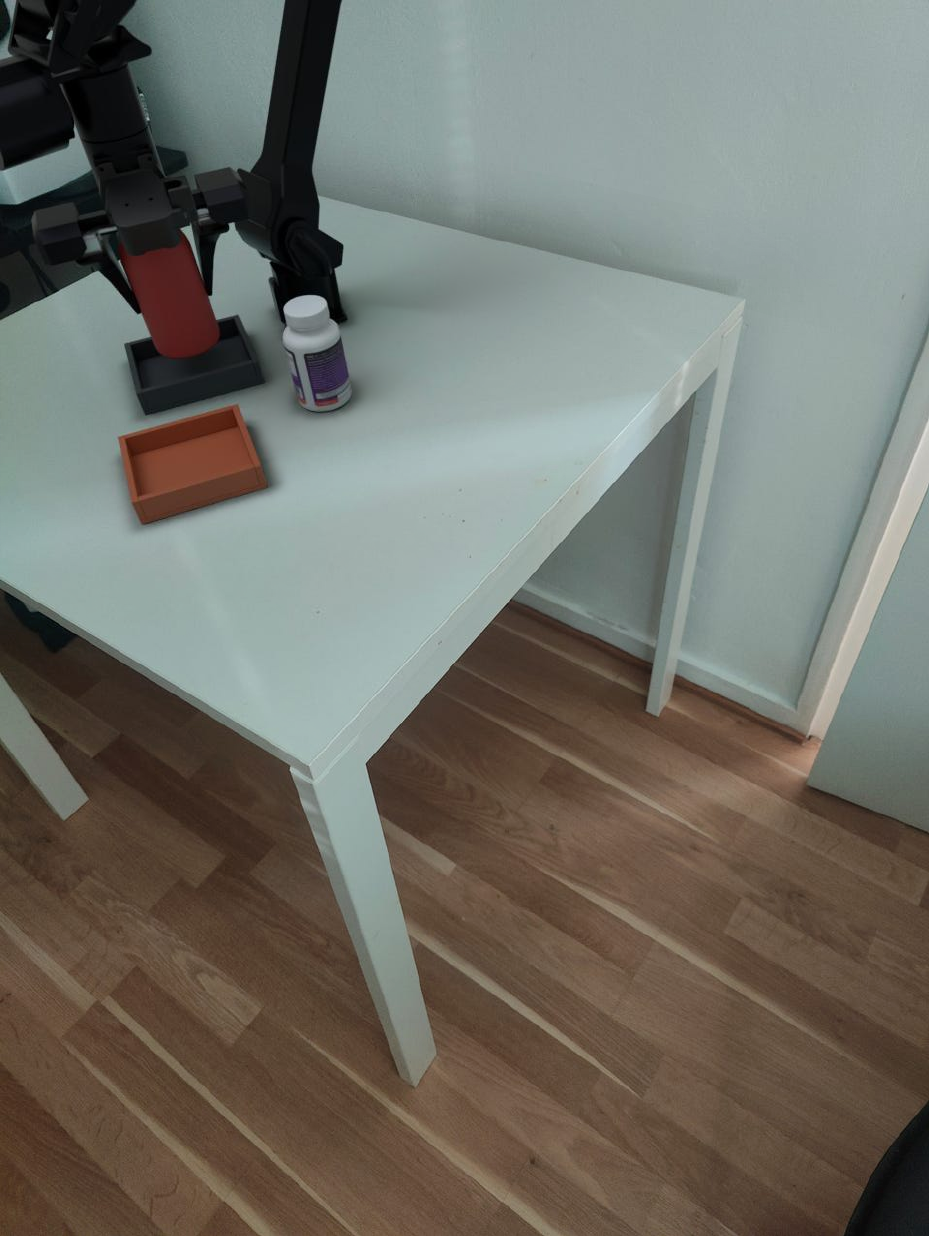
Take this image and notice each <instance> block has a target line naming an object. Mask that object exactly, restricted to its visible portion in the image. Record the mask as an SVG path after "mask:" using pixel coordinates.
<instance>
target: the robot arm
mask: <svg viewBox="0 0 929 1236" xmlns="http://www.w3.org/2000/svg"><path fill="white" fill-rule="evenodd" d="M137 1H138V0H15V4H14V9H13V16H12V21H11V26H10V32H9V37H8V43H7V52H8V54H9V55H10V56H9V57H8V56H7V57H5V58H2V59H0V172H3V171H6V170H9V169H13V168H15V167H18V166H20V165H23V164H26V163H30V162H32V161H34V160H38V159H40V158H43V157H45V156H49V155H51V154H55V153H57V152H60V151H62V150H66V149H67V148H69V146H70V140H73V139H75V138H76V133H75V129H76V131H77V134H78V137H79V139H80V143H81V145H82V147H83V150H84V154H85V155H86V158H87V161H88V163H89V166H90V168H91V169H90V170H91V172H92V174H93V177H94V180H95V182H96V186H97V188H98V193H99V197H100V198H99V199H100V200H101V203H102V206H103V209H102V210H97V211H94V212H93V211H92V212H89V213H84V214H79V212H78V208H77V207H76V205H75V202H73V201H72V202H68V203H63V204H59V205H53V206H51V207H45V208H42V209H41V208H40V209H36V210H34V211H33V214H32V217H31V219H30V220H31V228H32V235H33V240H34V242H35V245H36V247H37V250H38V253H39V254H40V256H41V258H42V261H43V263H44V265H45V266H51V267H53V266H58V265H61V264H66V263H70V262H75V263H76V265H77V267H80V268H85V267H91V268H92V269H94V270H96V271H97V272H98V273H100V274H101V275H102V276H103V277H104V278H105V279H107V281H108V282H109V283H111V285H112V286H113V288H115V290H116V291H117V292H118V293H119V294H120V295H121V297H122V299H124V300H125V302H126V303H127V304H128V305H129V307H131V309H132V310H133V311H134V313H135V314H136V315H142V314H141V311H140V308H139V305H138V303H137V300H136V298H135V296H134V294H133V292H132V289H131V287H130V284H129V282H128V279H127V277H126V275H125V272H124V270H123V267H122V265H121V263H120V261H119V260H118V258H117V257H116V254H115V252H114V250H113V248H112V246H111V244H110V242H109V240H108V238H107V236H106V235H110V234H115V233H117V232H118V233H119V236H120V238H121V241H122V243H123V246H124V249H125V251H126V252H127V253H128V254H129V255H132V256H140V255H144V254H145V253H146V252H149V251H153V250H157V249H161V248H167V249H170V248H173V247H176V246H178V245H179V244H180V242H181V240H182V238H181V234H180V231H179V228H180V229H182V228H186V227H191V232H192V236H193V241H194V247H195V252H196V256H197V257H196V258H197V261H198V262H197V263H198V268H199V271H200V274H201V276H202V279H203V282H204V285H205V288H206V291H207V294H208V297H212V296H213V289H214V288H213V287H214V265H215V264H214V261H215V252H216V247H217V243H218V240H219V238H220V237H221V235H223V234H227V233H228V232H230V224H234V228H235V231H236V232H237V234H238V235H239V237H240V239H241V241H243V242H244V243H245V244H246V245H247V246H249V247H250V248H252V249H254V250H256V251H257V253H258V254H259V256H260V257H261V258H263V259H266V260H268V261H269V267H270V271H271V274H272V276H270V277H268V285H269V289H270V293H271V297H272V300H273V304H274V305H273V306H274V309H275V312H276V315H277V317H278V318H279V320H280V323H282V324H285V326H286V327H287V323H286V319H285V314H284V306H285V305H286V303H287V302H289V301H290V300H292V299H294V298H296V297H300V296H306V295H316V296H320V297H322V298H324V299H325V300H326V302H327V305H328V310H329V316H330V319H332V320H333V321H335V322H336V323H337V324H339V323H343V322H346V321H347V320H348V314H347V313H346V311H345V309H344V307H343V305H342V300H341V295H340V294H341V293H340V289H339V284H338V279H337V273H336V269H337V268H339V267H341V266H342V265H343V258H344V247H345V245H344V244H343V243H342V242H340V241H339V240H337V239H335V238H334V237H333V236H331V235H329V234H328V233H326V232H324V231H323V230H321V229H320V211H321V210H320V209H321V203H320V198H319V195H318V190H317V187H316V182H315V178H314V173H313V166H314V160H315V153H316V149H317V142H318V137H319V132H320V125H321V120H322V114H323V108H324V102H325V97H326V91H327V87H328V80H329V75H330V70H331V63H332V57H333V53H334V47H335V41H336V35H337V29H338V23H339V18H340V13H341V6H342V2H343V0H284V4H283V11H282V19H281V25H280V31H279V39H278V44H277V51H276V56H275V57H276V59H275V64H274V71H273V77H272V85H271V90H270V99H269V104H268V112H267V118H266V123H265V132H264V138H263V144H262V150H261V154H260V156H259V158H258V159H257V161H256V162H255V163H254V165H253V167H252V168H251V169H250V171H248V170H245V169H244V168H241V167H239V168H237V170H235V169H233V168H232V167H231V166H227V167H223V168H218V169H214V170H210V171H205V172H201V173H196V174H194V175H193V177H194V182H195V186H196V188H193V189H191V187H190V183H189V181H188V179H187V177H186V175H185V174H183V175H179V176H178V175H177V176H174V177H170V176H169V177H168V176H166V175H165V172H164V169H163V165H162V163H161V160H160V156H159V153H158V151H157V146H156V143H155V141H154V137H153V135H152V132H151V131H152V130H151V128H150V125H149V122H148V119H147V116H146V113H145V109H144V106H143V103H142V99H141V96H140V93H139V90H138V88H137V87H138V86H137V85H136V81H135V78H134V75H133V72H132V71H133V70H132V68H131V65H130V63H132V62H135V61H139V60H141V59H144V58H147V57H150V56H151V55H152V54H153V49H152V47H151V46H150V45H149V44H148V43H145V42H143V41H142V40H140V39H139V38H137V37H136V36H134V35H133V34H132V33H131V31H129V30H128V29H127V28H126V26H125V25H123V24H121V22H122V21H123V20H124V19H125V18H126V16H127V15H128V14H129V13H130V12H131V11H132V10H133V8H134V7H135V6H136V4H137ZM51 31H52V34H51V38H50V39H49V38H47V37H48V36H49V34H50V33H51Z"/></svg>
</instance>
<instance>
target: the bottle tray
mask: <svg viewBox="0 0 929 1236" xmlns="http://www.w3.org/2000/svg"><path fill="white" fill-rule="evenodd" d="M117 440H118V445H119V449H120V454H121V459H122V463H123V468H124V474H125V479H126V482H127V488H128V493H129V497H130V502H131V505H132V507H133V509H134V511H135V513H136V516H137V517H138V519H139V522H140V524H141V525H146V524H148V523H152V522H155V521H158V520H162V519H165V518H168V517H173V516H176V515H178V514H183V513H185V512H188V511H189V512H190V511H192V510H196V509H199V508H203V507H205V506H210V505H212V504H217V503H219V502H223V501H226V500H229V499H232V498H236V497H240V496H242V495H246V494H249V493H250V494H251V493H252V492H256V491H260V490H263V489H266V488H268V487H269V486H268V483H267V480H266V477H265V473H264V470H263V467H262V464H261V460H260V458H259V455H258V453H257V450H256V448H255V446H254V444H253V441H252V438H251V435H250V432H249V430H248V428H247V424H246V422H245V420H244V417H243V414H242V412H241V410H240V407H239V404H238V403H235V404H232V405H227V406H224V407H220V408H217V409H214V410H210V411H207V412H203V413H199V414H196V415H195V414H194V415H192V416H188V417H184V418H180V419H178V420H177V419H176V420H174V421H170V422H166V423H163V424H159V425H155V426H152V427H148V428H145V429H141V430H138V431H134V432H130V433H127V434H123V435H119V436H117Z"/></svg>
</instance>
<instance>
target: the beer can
mask: <svg viewBox="0 0 929 1236" xmlns="http://www.w3.org/2000/svg"><path fill="white" fill-rule="evenodd" d="M179 231H180V234H181V238H182V240H181V242H180V244H179V245H178V246H176V247H173V248H170V249H167V248H161V249H157V250H153V251H149V252H146V253H145V254H144V255H140V256H132V255H129V254H128V253H127V252H126V251H125V249H124V246H123V243H122V241H121V238H120V236H119V233H118V232H116V240H117V241H118V257H119V263H120V266H121V268H122V270H123V272H124V274H125V276H126V278H127V280H128V282H129V284H130V287H131V289H132V292H133V294H134V296H135V298H136V300H137V303H138V305H139V308H140V311H141V314H140V315H141V316H142V318H143V320H144V323H145V326H146V328H147V331H148V333H149V335H150V336H149V337H151V338H152V340H153V343H154V345H155V348H156V349H157V351H158V352H159V353H160V354H161V355H163V356H165V357H167V358H171V359H176V360H182V359H190V358H195V357H197V356H200V355H203V354H204V353H206V352H208V351H209V350H211V349H212V348H213V347H214V346H215V345H216V343H217V341H218V339H219V337H220V330H219V327H218V324H217V321H216V320H217V318H216V315H215V312H214V309H213V306H212V304H211V303H212V302H211V301H210V296H208V294H207V291H206V288H205V285H204V282H203V279H202V276H201V272H200V267H199V264H198V262H197V259H196V256H195V253H194V250H193V246H192V244H191V242H190V240H189V239H188V237H187V235H186V234H185V232H183V230H182V228H179Z"/></svg>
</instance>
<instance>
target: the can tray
mask: <svg viewBox="0 0 929 1236" xmlns="http://www.w3.org/2000/svg"><path fill="white" fill-rule="evenodd" d="M216 321H217V324H218V327H219V330H220V337H219V339H218V341H217V343H216V345H215V346H214V347H213V348H212V349H211V350H209V351H208V352H206V353H204V354H203V355H200V356H197V357H195V358H190V359H182V360H176V359H171V358H167V357H165V356H163V355H161V354H160V353H159V352H158V351H157V349H156V348H155V345H154V343H153V340H152V338H151V336H148V337H143V338H140V339H136V340H132V341H128V342H125V343H123V346H124V350H125V355H126V357H127V362H128V366H129V370H130V375H131V378H132V382H133V385H134V390H135V394H136V397H137V400H138V402H139V404H140V406H141V409H142V411H143V414H144V416H147V415H150V414H154V413H158V412H161V411H165V410H169V409H173V408H177V407H180V406H184V405H187V404H188V405H189V404H191V403H194V402H199V401H203V400H206V399H209V398H213V397H216V396H221V395H224V394H228V393H232V392H235V391H238V390H242V389H246V388H249V387H253V386H257V385H261V384H265V383H266V382H265V378H264V374H263V369H262V367H261V363H260V360H259V358H258V356H257V353H256V351H255V349H254V347H253V344H252V342H251V340H250V338H249V335H248V333H247V331H246V328H245V326H244V324H243V322H242V320H241V317H240V315H239V314H235V315H229V316H227V317H223V318H219V319H218V318H217V319H216Z"/></svg>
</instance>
